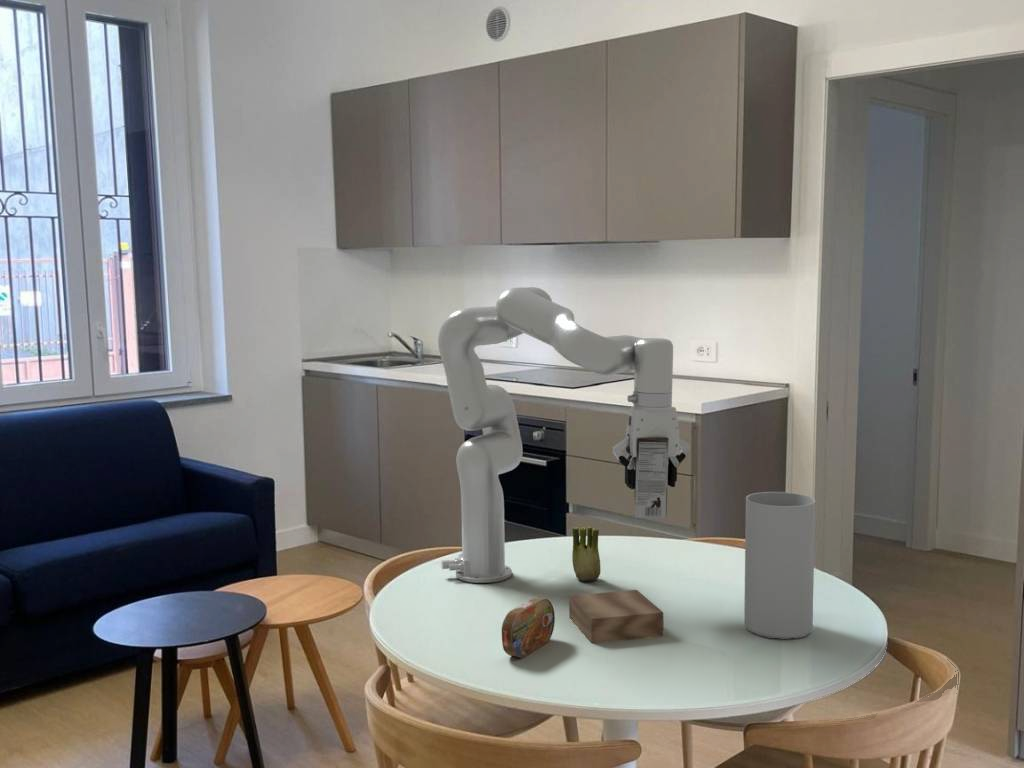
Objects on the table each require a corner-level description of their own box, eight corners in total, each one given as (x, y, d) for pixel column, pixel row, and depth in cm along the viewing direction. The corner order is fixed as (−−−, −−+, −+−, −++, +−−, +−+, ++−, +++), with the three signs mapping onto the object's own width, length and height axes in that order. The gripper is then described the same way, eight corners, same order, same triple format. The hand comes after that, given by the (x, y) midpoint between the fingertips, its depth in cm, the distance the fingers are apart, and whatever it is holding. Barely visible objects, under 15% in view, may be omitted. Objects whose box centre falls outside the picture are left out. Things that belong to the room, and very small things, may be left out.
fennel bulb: (569, 579, 225) (569, 526, 223) (585, 575, 228) (585, 522, 227) (589, 585, 220) (588, 531, 219) (604, 580, 224) (604, 527, 222)
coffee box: (633, 507, 210) (635, 430, 208) (664, 508, 209) (667, 431, 207) (634, 518, 201) (636, 437, 199) (667, 519, 200) (669, 438, 198)
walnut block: (591, 645, 186) (591, 618, 185) (569, 620, 199) (569, 595, 199) (663, 638, 189) (663, 612, 188) (636, 614, 203) (636, 589, 202)
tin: (513, 664, 176) (513, 617, 175) (498, 661, 178) (497, 614, 177) (556, 638, 189) (556, 593, 188) (541, 635, 191) (541, 591, 190)
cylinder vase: (730, 623, 195) (732, 495, 193) (783, 614, 200) (786, 489, 198) (771, 644, 184) (774, 509, 181) (826, 634, 189) (829, 502, 186)
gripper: (618, 404, 197) (616, 493, 199) (701, 401, 201) (698, 488, 203) (605, 399, 204) (603, 485, 206) (684, 396, 208) (682, 480, 210)
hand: (650, 486), depth 205 cm, fingers closed on coffee box, 8 cm apart
